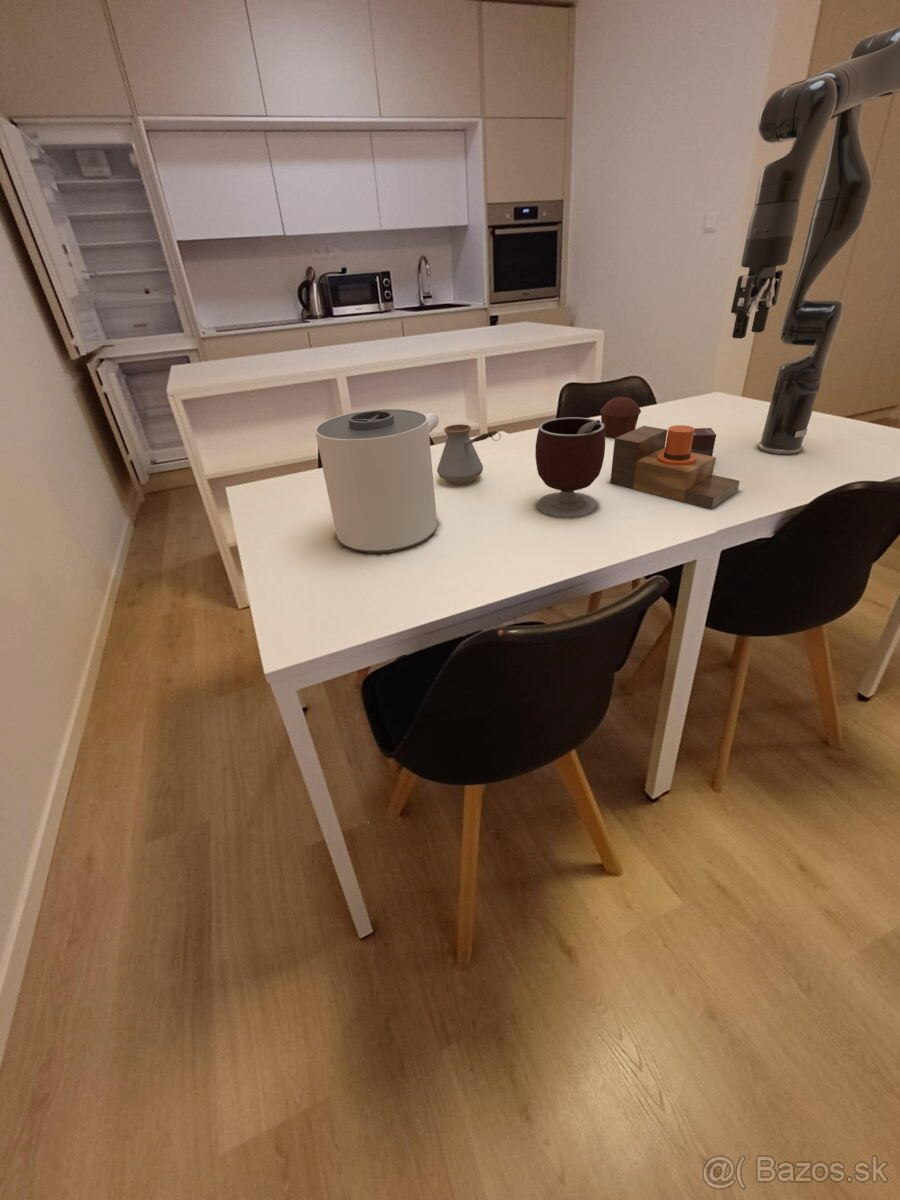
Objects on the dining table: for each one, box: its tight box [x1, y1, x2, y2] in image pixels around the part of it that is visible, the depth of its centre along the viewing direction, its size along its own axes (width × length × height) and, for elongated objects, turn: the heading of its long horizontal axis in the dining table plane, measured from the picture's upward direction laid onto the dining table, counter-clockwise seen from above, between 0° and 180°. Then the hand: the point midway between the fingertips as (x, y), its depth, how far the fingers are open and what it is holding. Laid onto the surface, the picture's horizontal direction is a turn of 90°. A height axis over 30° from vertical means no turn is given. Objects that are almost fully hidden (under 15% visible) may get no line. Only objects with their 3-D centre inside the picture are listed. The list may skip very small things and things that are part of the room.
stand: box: [609, 425, 741, 510], centre depth 116 cm, size 12×24×10 cm, turn 42°
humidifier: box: [314, 408, 440, 554], centre depth 104 cm, size 22×21×23 cm
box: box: [691, 427, 717, 456], centre depth 129 cm, size 6×6×7 cm
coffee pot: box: [436, 423, 502, 486], centre depth 124 cm, size 21×12×15 cm, turn 33°
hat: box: [657, 424, 697, 465], centre depth 113 cm, size 8×8×7 cm
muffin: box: [599, 396, 642, 439], centre depth 152 cm, size 12×11×10 cm
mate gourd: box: [534, 416, 606, 518], centre depth 108 cm, size 16×14×20 cm
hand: (748, 335), depth 103 cm, fingers open, 8 cm apart
